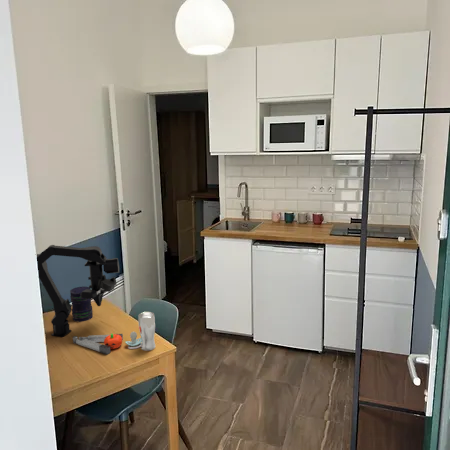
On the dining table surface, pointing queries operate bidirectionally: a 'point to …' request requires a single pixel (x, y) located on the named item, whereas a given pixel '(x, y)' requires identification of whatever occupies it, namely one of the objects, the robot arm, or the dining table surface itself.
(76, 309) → the storage jar
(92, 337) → the tong leg
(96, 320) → the dining table surface
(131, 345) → the pacifier
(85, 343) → the tong base
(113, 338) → the pumpkin
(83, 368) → the dining table surface
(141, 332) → the silver drink can
